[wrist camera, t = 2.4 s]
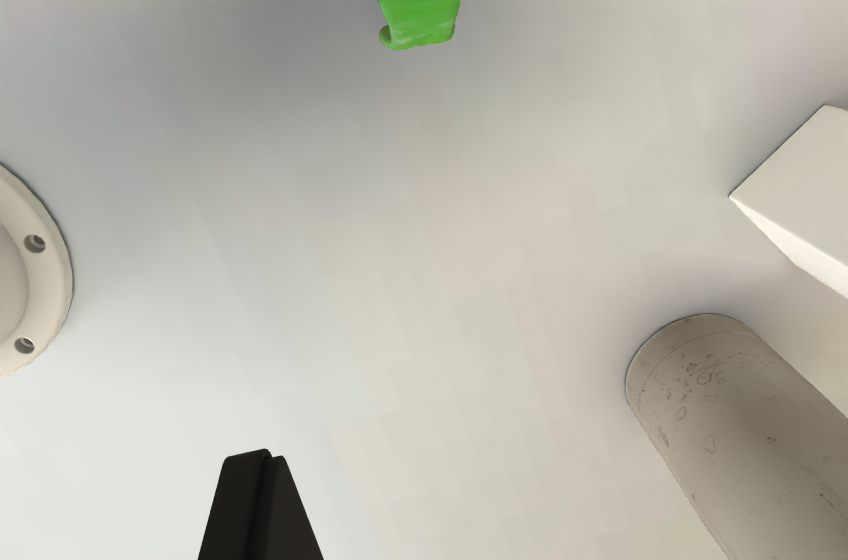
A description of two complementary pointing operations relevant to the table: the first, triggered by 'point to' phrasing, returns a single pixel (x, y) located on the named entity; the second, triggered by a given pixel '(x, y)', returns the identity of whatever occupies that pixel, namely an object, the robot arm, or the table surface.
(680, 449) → the thermos bottle
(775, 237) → the milk
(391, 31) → the snack cup
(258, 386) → the table surface
